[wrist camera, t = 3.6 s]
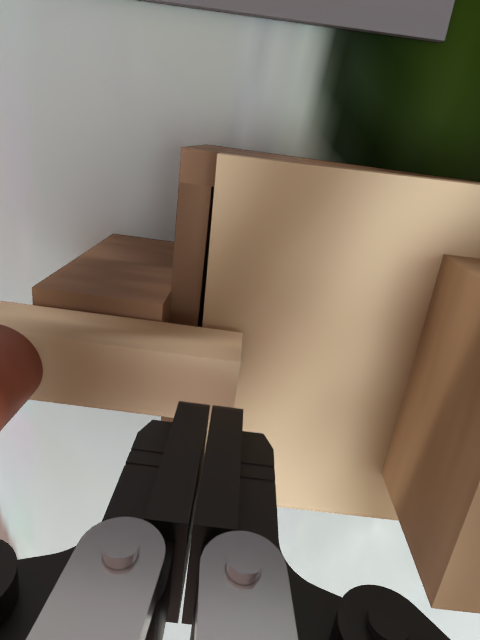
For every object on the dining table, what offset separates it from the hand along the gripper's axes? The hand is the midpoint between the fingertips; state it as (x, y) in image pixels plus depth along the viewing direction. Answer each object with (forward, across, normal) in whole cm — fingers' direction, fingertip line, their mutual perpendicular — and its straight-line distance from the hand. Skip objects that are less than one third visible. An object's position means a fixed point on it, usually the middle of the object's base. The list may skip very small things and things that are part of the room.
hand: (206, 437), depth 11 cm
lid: (+6, -7, 0) cm, 9 cm away
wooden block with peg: (+4, +3, 0) cm, 5 cm away
